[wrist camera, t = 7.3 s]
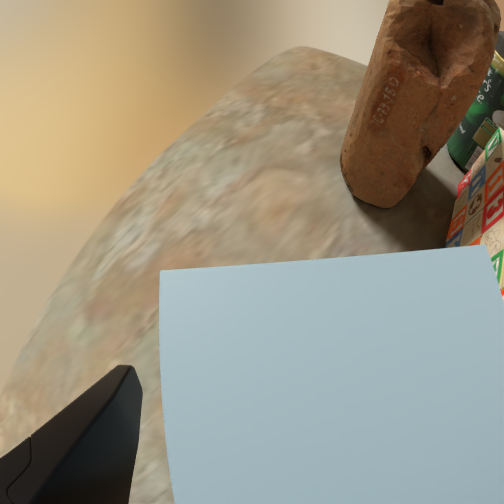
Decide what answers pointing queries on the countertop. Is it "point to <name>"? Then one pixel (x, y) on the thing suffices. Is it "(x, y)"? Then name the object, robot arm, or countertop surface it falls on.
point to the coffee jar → (481, 114)
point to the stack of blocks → (482, 206)
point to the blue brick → (335, 380)
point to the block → (416, 92)
